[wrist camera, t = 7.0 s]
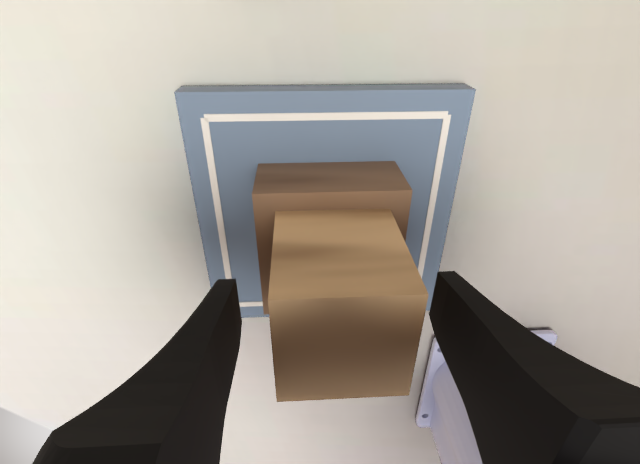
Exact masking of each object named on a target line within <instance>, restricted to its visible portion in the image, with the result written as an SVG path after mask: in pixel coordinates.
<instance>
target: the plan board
mask: <svg viewBox="0 0 640 464" xmlns="http://www.w3.org/2000/svg"><path fill="white" fill-rule="evenodd" d="M475 91H476V89H474V88H472V87H470V86H468V85H466V84H356V85H240V86H181V87H180V88H179V89H178V90H176V91H175V92H174V93H175V98H176V104H177V109H178V114H179V120H180V125H181V130H182V136H183V141H184V146H185V152H186V157H187V162H188V168H189V173H190V179H191V184H192V189H193V195H194V200H195V205H196V211H197V216H198V221H199V227H200V232H201V237H202V243H203V248H204V253H205V259H206V264H207V270H208V275H209V280H210V286H211V288H212V286H213V285H214V283H215V282H216V281H217V280H218V279H236V284H237V291H238V298H239V305H240V312H241V318H245V317H269V307H268V293H269V281H270V269H271V258H272V246H273V234H274V222H275V211H314V210H355V209H390V210H391V212H392V214H393V216H394V218H395V221H396V223H397V225H398V227H399V229H400V232H401V234H402V236H403V238H404V241H405V243H406V245H407V247H408V249H409V252H410V254H411V256H412V258H413V261H414V263H415V265H416V267H417V269H418V272H419V274H420V276H421V278H422V281H423V283H424V285H425V287H426V289H427V292H428V294H429V295H428V300H427V306H426V310H430V307H431V302H432V297H433V292H434V287H435V282H436V277H437V272H438V271H439V267H440V262H441V257H442V252H443V247H444V242H445V237H446V232H447V227H448V223H449V218H450V213H451V208H452V203H453V198H454V193H455V188H456V183H457V179H458V174H459V169H460V164H461V159H462V154H463V149H464V144H465V140H466V135H467V130H468V125H469V120H470V115H471V110H472V105H473V100H474V96H475Z"/></svg>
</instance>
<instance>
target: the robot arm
mask: <svg viewBox="0 0 640 464" xmlns="http://www.w3.org/2000/svg"><path fill="white" fill-rule="evenodd" d="M429 316H430V320H431V323H432V327H433V330H434V334H435V338H434V339H433V343H432V348H431V352H430V357H429V361H428V366H427V370H426V375H425V379H424V384H423V388H422V393H421V397H420V402H419V406H418V411H417V415H416V424H417V426H418V427H422V428H423V427H430V428H431V432H432V435H433V438H434V441H435V444H436V447H437V451H438V454H439V457H440V460H441V463H442V464H640V388H639V387H637V386H634V385H632V384H629V383H627V382H624V381H622V380H620V379H618V378H616V377H613V376H611V375H609V374H607V373H605V372H602V371H600V370H598V369H596V368H594V367H592V366H590V365H588V364H586V363H584V362H582V361H580V360H579V359H577V358H575V357H573V356H571V355H569V354H567V353H566V352H564V351H562V350H560V349H559V348H557V347H555V346H554V344H555V342H556V340H557V337H558V336H557V334H556V333H555V332H554V331H553V330H532V331H530V330H528V329H527V328H525V327H524V326H522V325H521V324H520V323H518V322H517V321H516V320H514V319H513V318H511V317H510V316H509V315H507V314H506V313H505V312H503V311H502V310H501V309H500V308H498V307H497V306H496V305H495V304H493V303H492V302H491V301H490V300H488V299H487V298H486V297H485V296H484V295H482V294H481V293H480V292H479V291H478V290H476V289H475V288H474V287H473V286H472V285H470V284H469V283H468V282H467V281H466V280H465V279H463V278H462V277H461V276H460V275H458V274H457V273H456V272H455V271H446V272H437V277H436V282H435V287H434V292H433V297H432V302H431V307H430V312H429ZM241 325H242V319H241V312H240V305H239V298H238V291H237V284H236V279H218V280H217V281H216V282H215V283H214V285H213V286H212V288H211V289H210V291H209V292H208V294H207V295H206V296H205V298H204V299H203V301H202V302H201V303H200V305H199V306H198V307H197V309H196V310H195V311H194V312H193V314H192V315H191V316H190V318H189V319H188V320H187V321H186V323H185V324H184V325H183V326H182V327H181V328H180V329H179V331H178V332H177V333H176V334H175V335H174V336H173V337H172V339H171V340H170V341H169V342H168V343H167V344H166V345H165V346H164V347H163V348H162V349H161V350H160V351H159V352H158V353H157V354H156V355H155V356H154V357H153V358H152V359H151V360H150V361H149V362H148V363H147V364H145V365H144V366H143V367H142V368H141V369H140V370H139V371H138V372H136V373H135V374H134V375H133V376H132V377H130V378H129V379H128V380H127V381H126V382H124V383H123V384H122V385H121V386H119V387H118V388H117V389H115V390H114V391H113V392H111V393H110V394H109V395H107V396H106V397H104V398H103V399H102V400H100V401H99V402H97V403H96V404H95V405H93V406H92V407H90V408H89V409H87V410H86V411H84V412H83V413H81V414H79V415H78V416H76V417H75V418H73V419H71V420H70V421H68V422H67V423H65V424H64V425H62V426H60V427H59V428H57V429H55V430H54V431H52V433H51V434H50V436H49V437H48V439H47V440H46V442H45V443H44V445H43V446H42V448H41V449H40V451H39V453H38V455H37V457H36V458H35V460H34V462H33V464H219V462H220V453H221V444H222V435H223V427H224V419H225V413H226V407H227V402H228V398H229V393H230V389H231V384H232V380H233V375H234V371H235V366H236V361H237V357H238V352H239V346H240V337H241ZM439 347H440V348H439Z"/></svg>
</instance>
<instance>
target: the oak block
mask: <svg viewBox="0 0 640 464" xmlns="http://www.w3.org/2000/svg"><path fill="white" fill-rule="evenodd" d="M428 295H429V294H428V292H427V289H426V287H425V285H424V283H423V281H422V278H421V276H420V274H419V272H418V269H417V267H416V265H415V263H414V261H413V258H412V256H411V254H410V252H409V249H408V247H407V245H406V243H405V241H404V238H403V236H402V234H401V232H400V229H399V227H398V225H397V223H396V221H395V218H394V216H393V214H392V212H391V210H390V209H355V210H314V211H275V222H274V234H273V246H272V258H271V269H270V281H269V293H268V307H269V318H270V330H271V341H272V352H273V364H274V375H275V386H276V398H277V402H283V401H303V400H323V399H343V398H363V397H383V396H404V395H409V392H410V387H411V382H412V377H413V372H414V366H415V361H416V356H417V351H418V346H419V341H420V336H421V331H422V326H423V321H424V316H425V311H426V306H427V300H428Z"/></svg>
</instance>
